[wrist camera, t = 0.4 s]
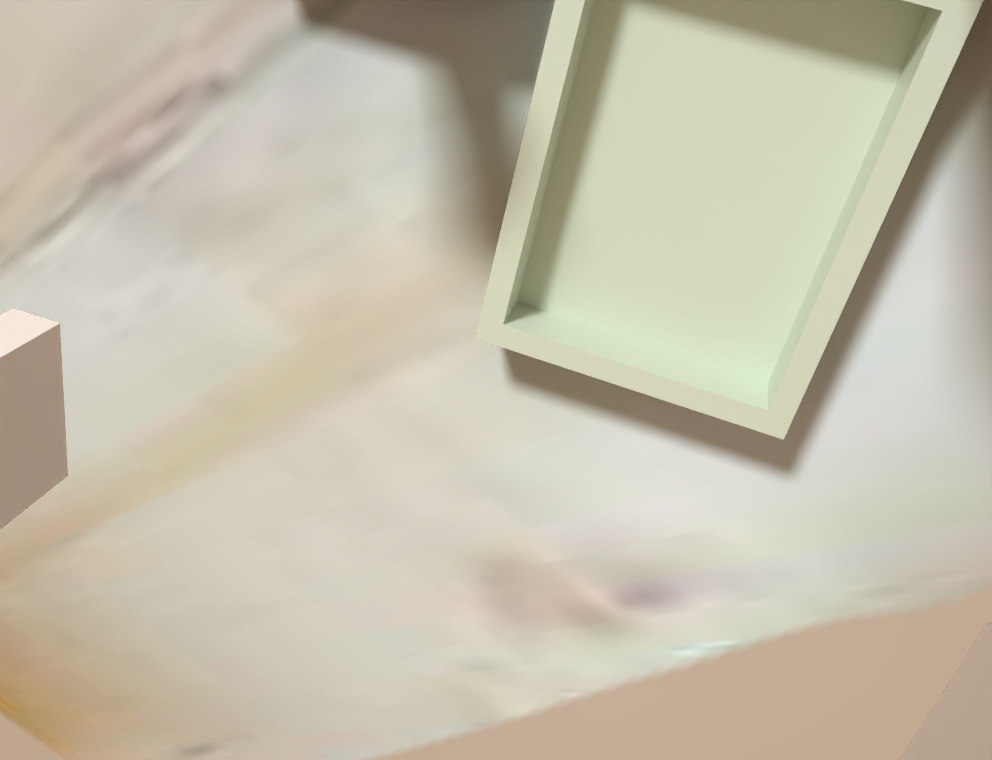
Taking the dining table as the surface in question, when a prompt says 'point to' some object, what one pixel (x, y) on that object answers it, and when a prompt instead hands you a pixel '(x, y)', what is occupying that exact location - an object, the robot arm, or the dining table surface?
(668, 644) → the dining table surface
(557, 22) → the tray
